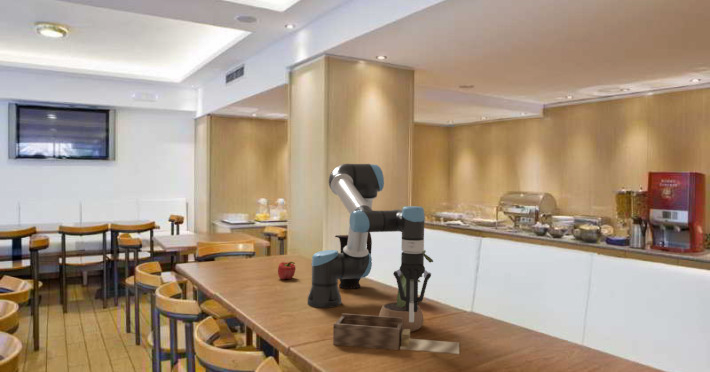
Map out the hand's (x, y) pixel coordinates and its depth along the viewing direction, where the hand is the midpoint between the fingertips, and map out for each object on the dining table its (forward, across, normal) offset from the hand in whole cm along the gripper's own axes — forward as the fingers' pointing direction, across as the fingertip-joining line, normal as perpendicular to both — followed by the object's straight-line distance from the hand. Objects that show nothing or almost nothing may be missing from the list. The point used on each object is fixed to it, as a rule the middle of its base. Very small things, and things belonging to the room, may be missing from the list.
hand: (411, 321), depth 163 cm
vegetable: (+8, -77, +89) cm, 118 cm away
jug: (+8, -38, +78) cm, 87 cm away
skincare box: (+8, -7, +57) cm, 58 cm away
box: (+8, -15, 0) cm, 17 cm away
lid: (+9, +6, 0) cm, 11 cm away
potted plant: (+8, -4, +21) cm, 23 cm away
